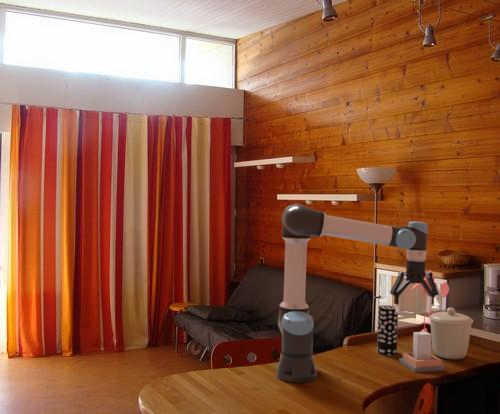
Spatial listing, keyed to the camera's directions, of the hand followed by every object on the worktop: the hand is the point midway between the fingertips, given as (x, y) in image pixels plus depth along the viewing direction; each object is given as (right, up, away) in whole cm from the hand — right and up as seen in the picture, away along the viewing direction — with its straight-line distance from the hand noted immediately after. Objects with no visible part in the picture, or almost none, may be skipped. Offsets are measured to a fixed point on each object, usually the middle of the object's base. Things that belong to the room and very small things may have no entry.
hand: (413, 312), depth 230 cm
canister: (+20, -22, +15) cm, 33 cm away
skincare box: (+4, -21, +1) cm, 21 cm away
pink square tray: (+4, -22, +1) cm, 22 cm away
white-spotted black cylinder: (-6, -21, +18) cm, 29 cm away
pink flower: (+14, -21, +32) cm, 41 cm away
